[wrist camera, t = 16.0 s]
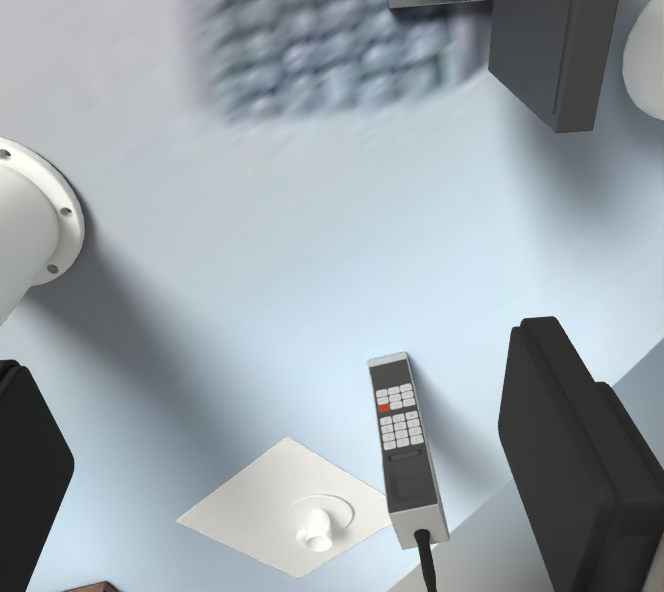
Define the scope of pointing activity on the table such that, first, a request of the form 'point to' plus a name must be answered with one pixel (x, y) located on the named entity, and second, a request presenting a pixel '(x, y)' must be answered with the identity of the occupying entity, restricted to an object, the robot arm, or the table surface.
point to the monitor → (549, 54)
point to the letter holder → (95, 588)
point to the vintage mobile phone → (407, 461)
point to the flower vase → (646, 60)
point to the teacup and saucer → (290, 510)
